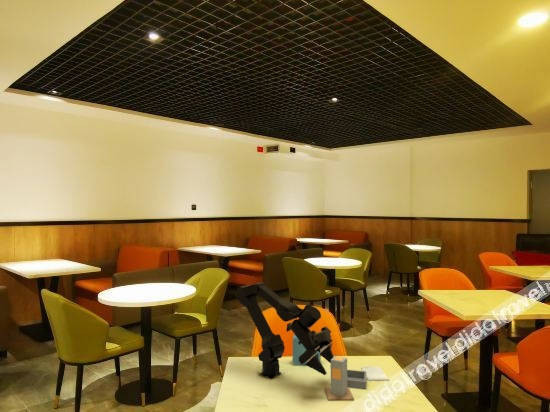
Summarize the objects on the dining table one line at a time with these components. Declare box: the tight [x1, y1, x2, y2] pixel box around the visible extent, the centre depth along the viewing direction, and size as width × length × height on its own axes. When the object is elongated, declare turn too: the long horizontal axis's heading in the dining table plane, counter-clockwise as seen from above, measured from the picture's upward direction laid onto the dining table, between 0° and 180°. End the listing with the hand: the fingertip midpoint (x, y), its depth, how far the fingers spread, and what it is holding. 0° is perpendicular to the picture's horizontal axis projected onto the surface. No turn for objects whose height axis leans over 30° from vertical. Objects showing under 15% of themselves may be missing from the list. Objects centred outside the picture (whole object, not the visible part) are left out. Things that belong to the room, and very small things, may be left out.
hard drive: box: [360, 366, 391, 382], centre depth 157 cm, size 2×8×12 cm
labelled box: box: [330, 355, 348, 397], centre depth 139 cm, size 4×5×12 cm
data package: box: [292, 334, 322, 366], centre depth 169 cm, size 12×4×12 cm, turn 86°
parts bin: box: [347, 369, 367, 390], centre depth 149 cm, size 10×10×3 cm
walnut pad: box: [323, 386, 355, 402], centre depth 139 cm, size 9×9×1 cm
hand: (330, 369), depth 141 cm, fingers open, 9 cm apart
